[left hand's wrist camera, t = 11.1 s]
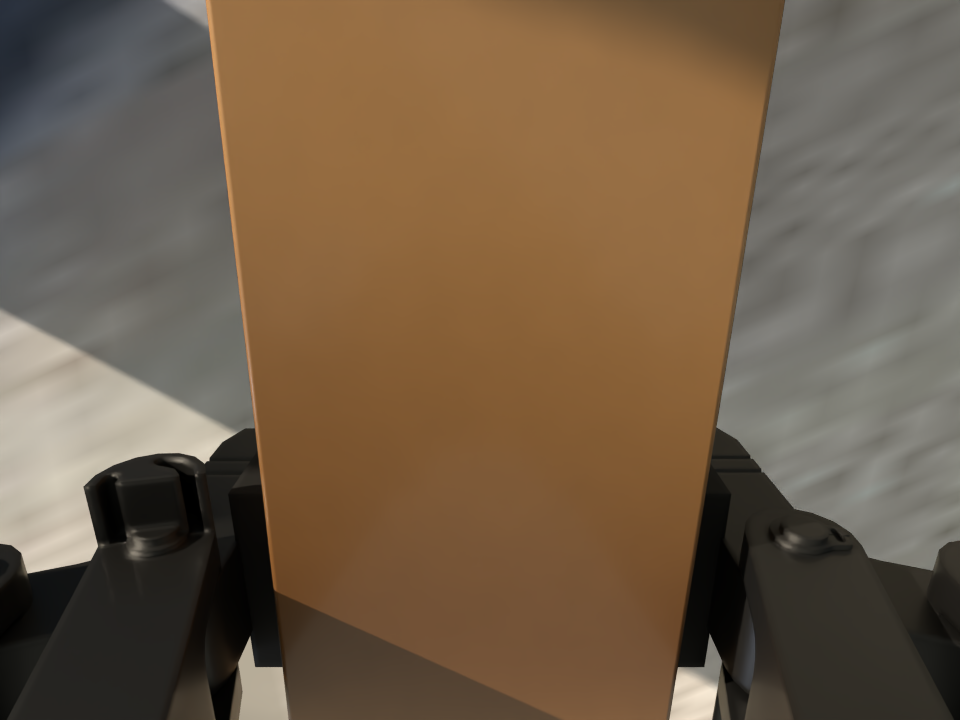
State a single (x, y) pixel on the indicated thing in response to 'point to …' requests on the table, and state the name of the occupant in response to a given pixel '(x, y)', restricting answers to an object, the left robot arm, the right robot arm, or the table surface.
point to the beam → (487, 335)
